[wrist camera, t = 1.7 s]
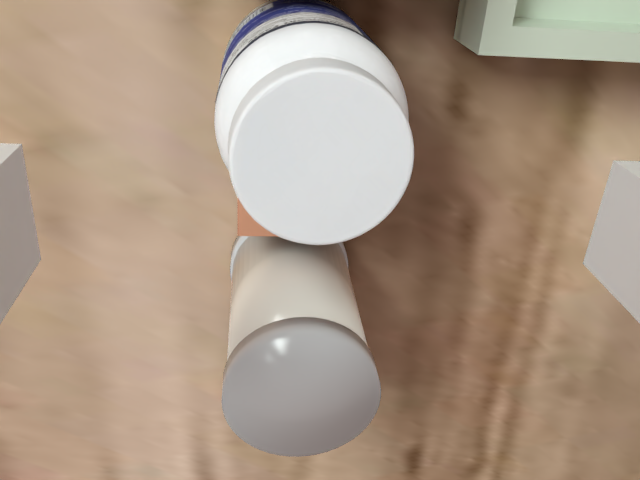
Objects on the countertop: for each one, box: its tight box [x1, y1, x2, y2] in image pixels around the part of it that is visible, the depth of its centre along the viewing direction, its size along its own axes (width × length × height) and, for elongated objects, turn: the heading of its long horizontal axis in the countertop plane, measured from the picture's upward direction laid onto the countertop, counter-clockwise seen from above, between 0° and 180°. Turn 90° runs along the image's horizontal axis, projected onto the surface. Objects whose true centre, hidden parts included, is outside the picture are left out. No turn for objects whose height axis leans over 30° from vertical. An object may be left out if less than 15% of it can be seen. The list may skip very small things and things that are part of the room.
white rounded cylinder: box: [222, 236, 381, 456], centre depth 24 cm, size 5×5×9 cm
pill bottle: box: [215, 0, 414, 245], centre depth 20 cm, size 6×6×10 cm
